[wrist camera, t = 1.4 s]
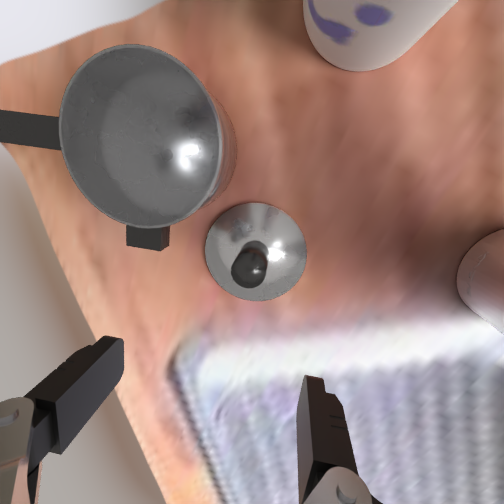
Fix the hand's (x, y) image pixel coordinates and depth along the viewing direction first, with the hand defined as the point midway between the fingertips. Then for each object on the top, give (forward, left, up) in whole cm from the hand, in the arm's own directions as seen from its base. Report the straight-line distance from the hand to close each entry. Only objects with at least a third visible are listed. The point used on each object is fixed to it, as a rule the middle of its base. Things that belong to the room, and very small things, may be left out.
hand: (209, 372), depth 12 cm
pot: (+12, -8, -18) cm, 23 cm away
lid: (0, 0, -18) cm, 18 cm away
